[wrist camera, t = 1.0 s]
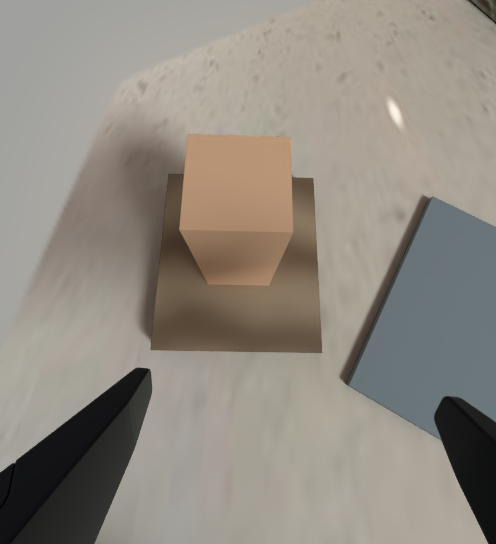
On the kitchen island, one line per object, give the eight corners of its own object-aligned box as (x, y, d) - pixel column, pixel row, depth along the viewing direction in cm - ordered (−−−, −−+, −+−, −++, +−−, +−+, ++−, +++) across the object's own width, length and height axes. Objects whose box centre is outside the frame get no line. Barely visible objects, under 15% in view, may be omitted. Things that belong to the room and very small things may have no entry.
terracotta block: (268, 285, 21) (293, 232, 11) (208, 284, 21) (179, 229, 11) (268, 229, 22) (290, 137, 12) (211, 228, 22) (187, 133, 12)
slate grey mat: (499, 474, 20) (507, 478, 19) (345, 384, 21) (349, 385, 20) (558, 263, 24) (566, 261, 23) (428, 199, 25) (432, 196, 25)
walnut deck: (314, 352, 21) (322, 352, 20) (158, 349, 21) (150, 350, 19) (307, 191, 25) (313, 178, 23) (174, 187, 25) (168, 173, 23)
